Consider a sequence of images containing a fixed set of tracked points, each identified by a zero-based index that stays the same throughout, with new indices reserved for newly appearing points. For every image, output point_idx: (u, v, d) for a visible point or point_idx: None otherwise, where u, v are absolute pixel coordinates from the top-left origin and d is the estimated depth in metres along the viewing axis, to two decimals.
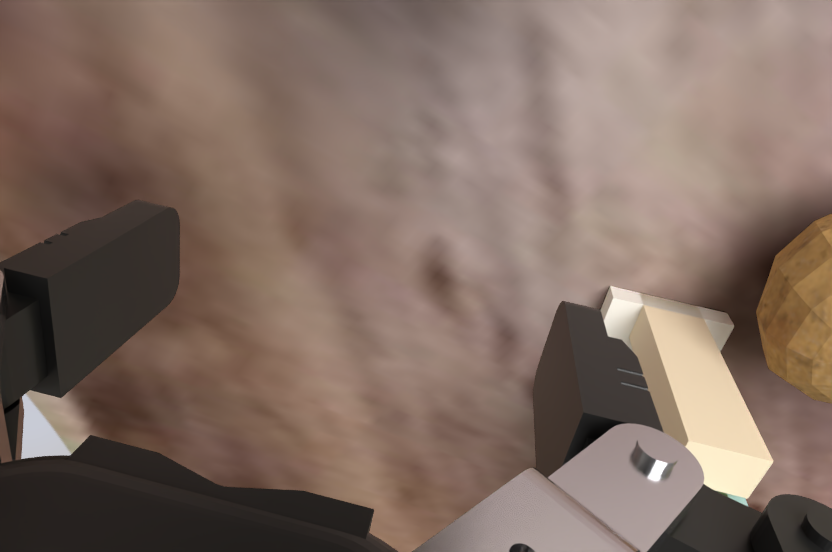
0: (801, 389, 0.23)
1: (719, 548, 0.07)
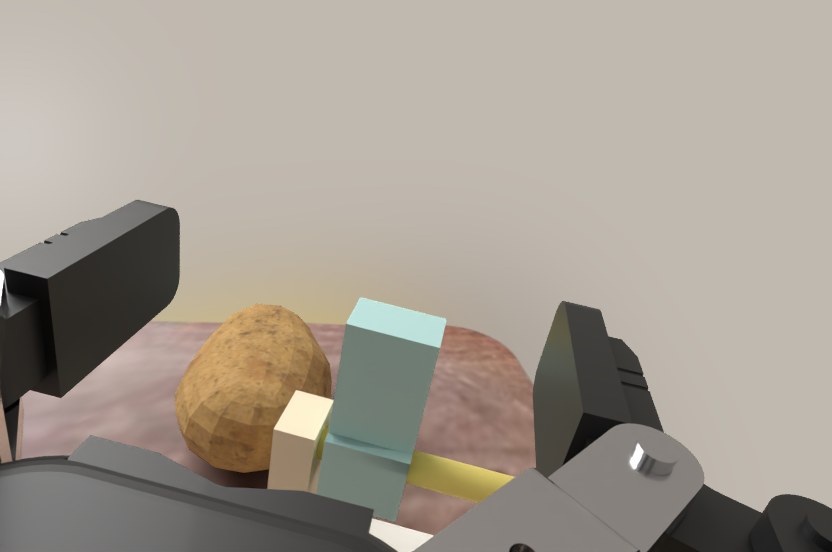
0: None
1: (719, 548, 0.07)
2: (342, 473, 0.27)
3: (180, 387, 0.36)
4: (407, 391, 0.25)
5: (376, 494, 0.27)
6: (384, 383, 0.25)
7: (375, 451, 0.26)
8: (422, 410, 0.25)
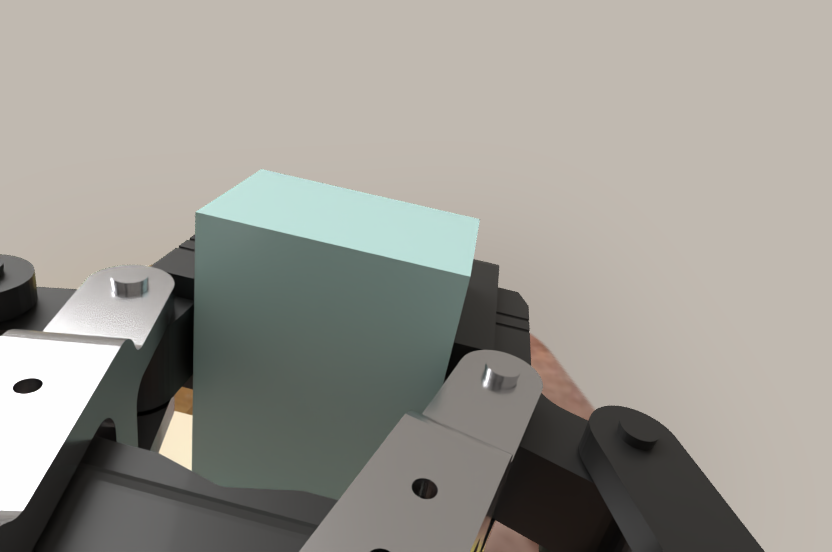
0: None
1: (548, 449, 0.08)
2: None
3: None
4: (379, 406, 0.09)
5: None
6: (316, 385, 0.09)
7: None
8: None
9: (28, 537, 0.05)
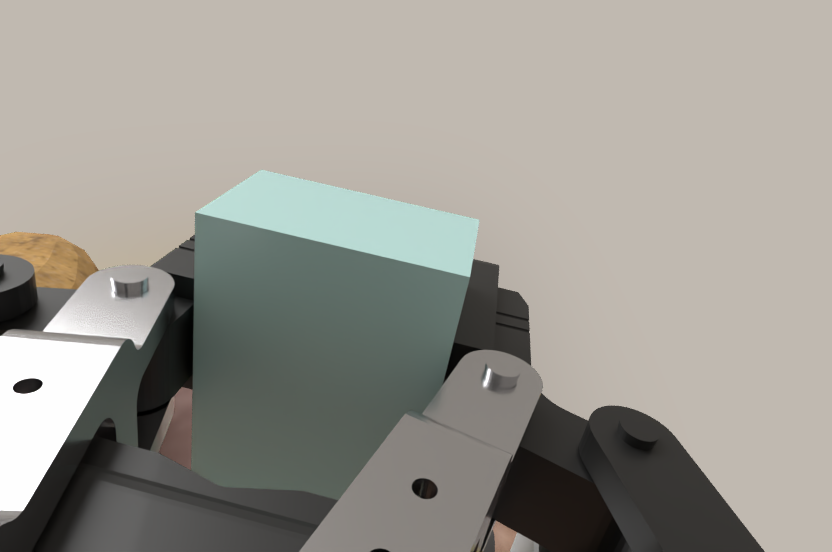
0: None
1: (548, 449, 0.08)
2: None
3: None
4: (379, 407, 0.09)
5: None
6: (316, 386, 0.09)
7: None
8: None
9: (29, 537, 0.05)
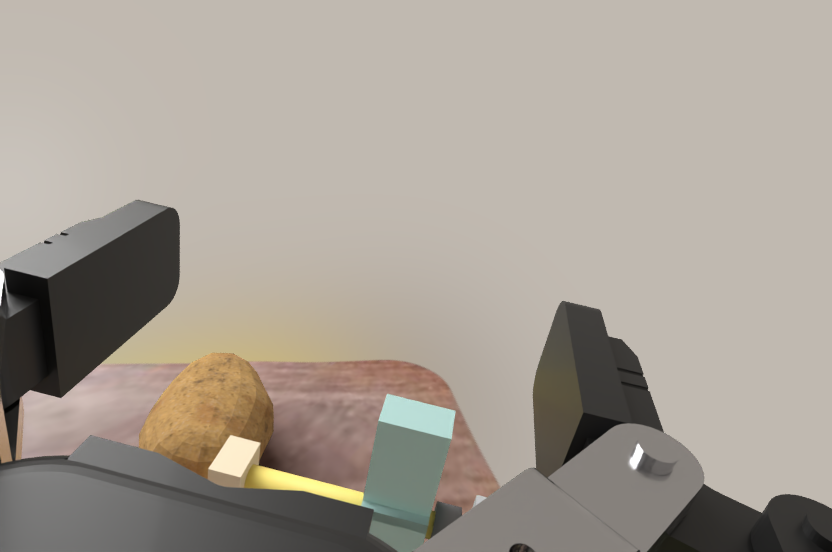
0: None
1: (719, 548, 0.07)
2: (374, 532, 0.34)
3: (143, 429, 0.43)
4: (425, 470, 0.32)
5: (401, 548, 0.34)
6: (407, 464, 0.32)
7: (400, 515, 0.33)
8: (437, 484, 0.32)
9: None
